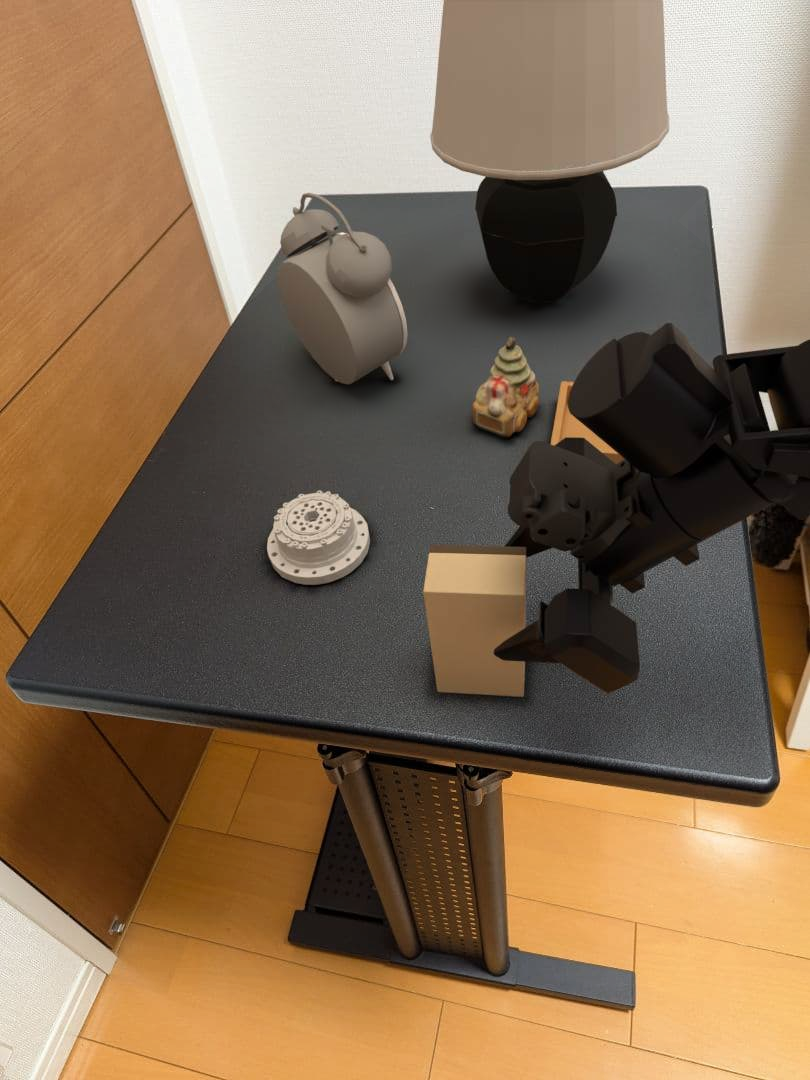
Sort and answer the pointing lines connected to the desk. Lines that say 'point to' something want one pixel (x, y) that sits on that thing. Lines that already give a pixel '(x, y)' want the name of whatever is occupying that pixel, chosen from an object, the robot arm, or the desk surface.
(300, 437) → the desk surface
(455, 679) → the back pad
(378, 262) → the alarm clock
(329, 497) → the mechanical component
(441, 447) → the desk surface
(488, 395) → the ornament
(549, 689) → the desk surface
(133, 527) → the desk surface
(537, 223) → the table lamp
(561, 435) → the mount frame
